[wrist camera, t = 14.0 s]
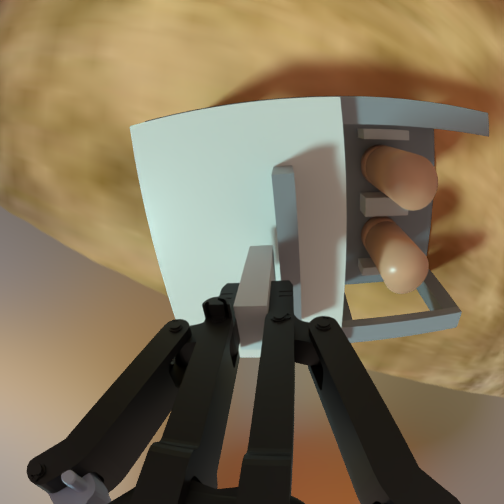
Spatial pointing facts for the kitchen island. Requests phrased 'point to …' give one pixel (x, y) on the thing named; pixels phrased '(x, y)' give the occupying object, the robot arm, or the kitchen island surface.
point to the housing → (378, 204)
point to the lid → (247, 200)
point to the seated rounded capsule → (394, 254)
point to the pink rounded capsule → (400, 175)
